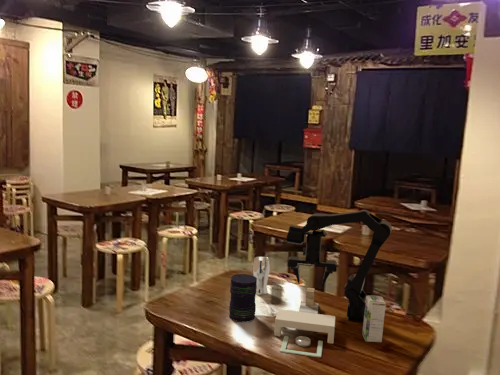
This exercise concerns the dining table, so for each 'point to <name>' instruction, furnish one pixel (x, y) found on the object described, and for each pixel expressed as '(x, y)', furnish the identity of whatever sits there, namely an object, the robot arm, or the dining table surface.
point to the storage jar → (242, 298)
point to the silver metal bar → (309, 304)
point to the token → (303, 341)
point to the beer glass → (261, 273)
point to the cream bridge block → (305, 322)
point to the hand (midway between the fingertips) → (310, 285)
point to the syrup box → (373, 319)
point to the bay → (283, 349)
